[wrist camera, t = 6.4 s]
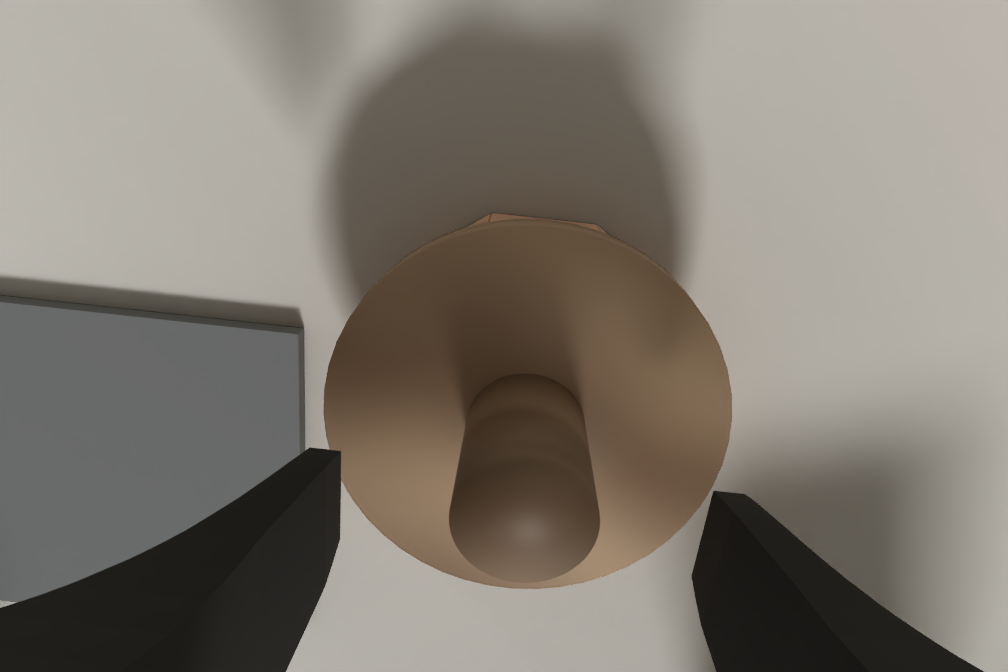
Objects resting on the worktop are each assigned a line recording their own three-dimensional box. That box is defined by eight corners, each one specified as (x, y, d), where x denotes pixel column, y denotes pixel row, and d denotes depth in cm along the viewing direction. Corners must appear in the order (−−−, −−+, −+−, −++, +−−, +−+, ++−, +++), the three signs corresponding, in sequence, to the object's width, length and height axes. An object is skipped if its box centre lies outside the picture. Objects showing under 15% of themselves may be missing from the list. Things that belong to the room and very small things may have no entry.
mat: (306, 621, 23) (301, 632, 22) (-7, 587, 23) (-18, 598, 22) (303, 328, 19) (298, 334, 18) (-76, 287, 19) (-91, 291, 18)
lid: (659, 595, 18) (698, 745, 14) (316, 532, 18) (252, 667, 14) (779, 265, 15) (876, 334, 10) (355, 179, 14) (284, 216, 10)
